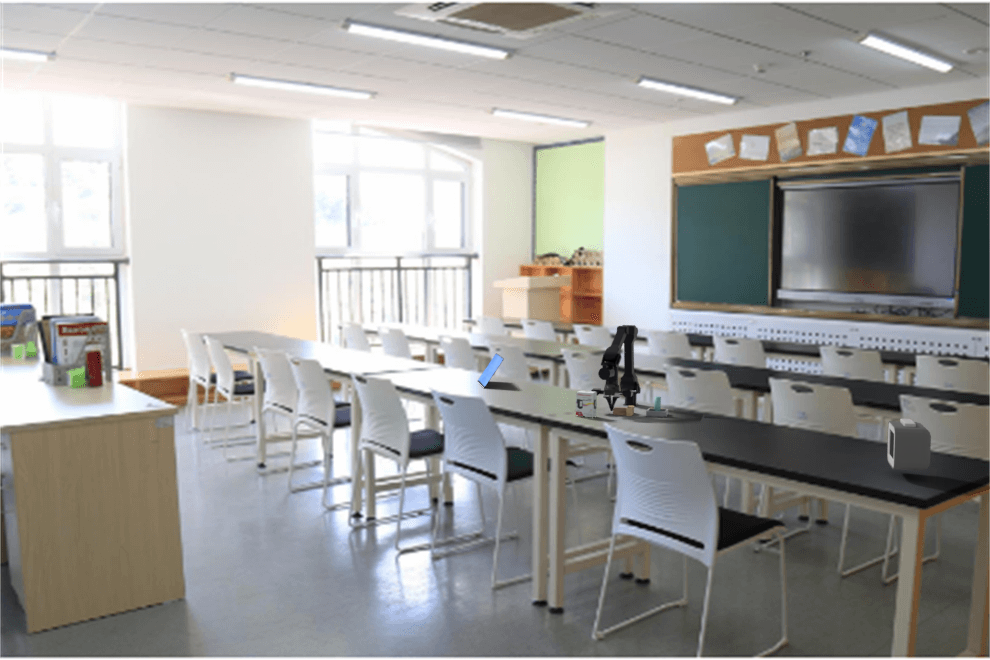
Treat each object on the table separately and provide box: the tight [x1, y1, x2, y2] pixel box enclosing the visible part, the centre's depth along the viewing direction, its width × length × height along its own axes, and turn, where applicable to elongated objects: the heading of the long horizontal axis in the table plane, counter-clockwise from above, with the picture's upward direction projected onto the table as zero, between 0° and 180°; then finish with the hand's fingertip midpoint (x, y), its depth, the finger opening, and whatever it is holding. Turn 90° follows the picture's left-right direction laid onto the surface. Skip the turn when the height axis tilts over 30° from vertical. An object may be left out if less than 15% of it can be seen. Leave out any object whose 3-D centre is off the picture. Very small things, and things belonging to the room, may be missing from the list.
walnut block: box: [612, 406, 627, 416], centre depth 403 cm, size 6×6×3 cm
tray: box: [645, 407, 669, 419], centre depth 399 cm, size 9×9×2 cm
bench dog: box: [625, 406, 635, 417], centre depth 402 cm, size 8×2×4 cm, turn 164°
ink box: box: [575, 390, 598, 418], centre depth 394 cm, size 9×5×12 cm, turn 62°
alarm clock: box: [886, 418, 932, 472], centre depth 294 cm, size 16×11×16 cm
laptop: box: [477, 353, 505, 389], centre depth 493 cm, size 30×32×18 cm
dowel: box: [653, 396, 662, 411], centre depth 399 cm, size 3×3×8 cm
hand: (611, 411), depth 404 cm, fingers closed
